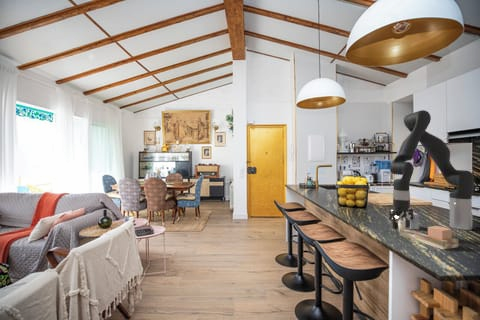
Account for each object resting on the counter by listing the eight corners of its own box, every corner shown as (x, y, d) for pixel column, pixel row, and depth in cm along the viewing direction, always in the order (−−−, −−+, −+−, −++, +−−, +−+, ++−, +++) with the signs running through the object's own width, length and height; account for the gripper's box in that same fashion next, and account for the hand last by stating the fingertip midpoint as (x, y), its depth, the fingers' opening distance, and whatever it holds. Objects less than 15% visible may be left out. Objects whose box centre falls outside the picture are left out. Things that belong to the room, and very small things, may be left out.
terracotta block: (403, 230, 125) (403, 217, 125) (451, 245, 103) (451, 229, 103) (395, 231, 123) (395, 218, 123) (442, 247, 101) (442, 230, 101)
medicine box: (419, 229, 127) (419, 214, 127) (410, 229, 128) (410, 214, 128) (411, 225, 135) (411, 211, 135) (403, 225, 136) (403, 211, 136)
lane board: (413, 233, 121) (413, 226, 121) (458, 246, 102) (458, 239, 102) (399, 235, 119) (399, 228, 119) (442, 249, 99) (442, 241, 99)
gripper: (404, 196, 128) (404, 225, 128) (384, 198, 124) (384, 227, 124) (418, 199, 121) (418, 229, 121) (397, 200, 117) (397, 231, 117)
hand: (401, 228), depth 123 cm, fingers open, 8 cm apart
